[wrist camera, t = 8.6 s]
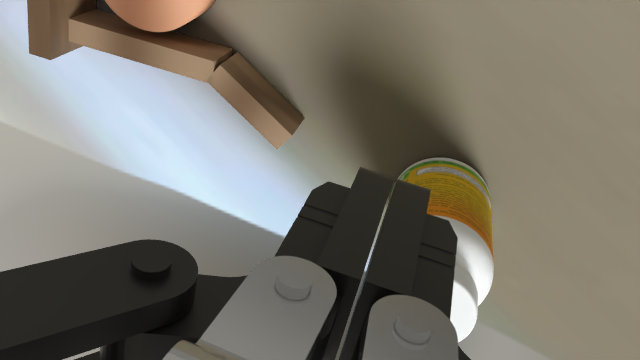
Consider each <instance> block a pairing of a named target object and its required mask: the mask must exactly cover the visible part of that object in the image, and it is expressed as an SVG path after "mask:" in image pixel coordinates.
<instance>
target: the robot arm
mask: <svg viewBox="0 0 640 360" xmlns="http://www.w3.org/2000/svg"><path fill="white" fill-rule="evenodd" d="M393 179H394V178H393V177H390V176H387V175H383V174H380V173H377V172H374V171H371V170H368V169H365V168H362V167H360V169H359V171H358V173H357V175H356V178H355V180H354V182H353V184H352V186H351V189H350V188H347V187H344V186H341V185H338V184H335V183H332V182H327V183H325V184H323V185H321V186H319V187H317V188H315V189H313V190H312V191H311V193H310V195H309V197H308V199H307V200H306V202H305V204H304V207H302V209H301V211H300V213H299V214H298V217H297V218H296V220H295V221H294V223H293V225H292V227H291V228H290V230H289V232H288V234H287V235H286V237H285V239H284V241H283V242H282V244H281V246H280V248H279V250H278V252H277V253H276V255H275V257H271V258H268V259H265V260H263V261H261V262H260V263H258V264H257V265H256V266H255V267H254V268H253V269H252V271H251V272H250V273H249V275H247V276H242V277H218V276H209V275H200V274H198V267H197V263H196V261H195V259H194V258H193V256H192V255H191V254H190V253H189V252H188V251H186V250H185V249H183V248H182V247H180V246H178V245H175V244H173V243H169V242H165V241H161V240H138V241H133V242H128V243H124V244H119V245H115V246H111V247H106V248H102V249H98V250H94V251H89V252H85V253H81V254H77V255H72V256H68V257H63V258H59V259H55V260H50V261H46V262H42V263H37V264H33V265H29V266H25V267H20V268H16V269H11V270H7V271H3V272H0V360H62V359H65V358H68V357H71V356H74V355H77V354H80V353H83V352H86V351H90V350H92V349H96V348H99V347H100V351H98V352H96V353H92V354H90V355H87V356H84V357H81V358H78V359H75V360H335V357H336V354H337V351H338V348H339V345H340V342H341V339H342V336H343V333H344V329H345V327H346V323H347V320H348V317H349V314H350V311H351V308H352V305H353V301H354V299H355V296H356V293H357V290H358V287H359V284H360V281H361V278H362V275H363V272H364V268H365V265H366V262H367V259H368V256H369V253H370V250H371V247H372V244H373V241H374V238H375V234H376V231H377V228H378V225H379V222H380V219H381V216H382V213H383V210H384V207H385V204H386V200H387V197H388V194H389V191H390V188H391V185H392V182H393ZM430 192H431V189H427V188H424V187H421V186H418V185H415V184H412V183H409V182H406V181H403V180H399V179H397V180H396V183H395V186H394V189H393V192H392V195H391V198H390V201H389V204H388V207H387V210H386V213H385V216H384V219H383V222H382V225H381V228H380V231H379V234H378V237H377V240H376V243H375V246H374V249H373V252H372V255H371V259H370V262H369V265H368V268H367V271H366V274H365V277H364V281H363V284H362V287H361V290H360V293H359V296H358V300H357V303H356V306H355V309H354V312H353V316H352V318H351V322H350V325H349V328H348V331H347V334H346V338H345V341H344V344H343V347H342V350H341V353H340V356H339V360H471V359H470V358H469V357H468V356H467V355H466V354H465V353H464V352H463V351H462V350H461V349H460V347H459V346H458V337H457V332H456V330H455V327H454V326H453V324H452V322H451V321H450V315H451V305H452V294H453V283H454V273H455V271H454V269H455V262H456V257H455V256H456V252H457V241H458V237H457V235H456V233H455V232H454V230H453V228H452V226H451V224H450V222H449V220H445V219H442V218H439V217H436V216H433V215H430V214H427V208H428V203H429V198H430Z"/></svg>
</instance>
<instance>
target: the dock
mask: <svg viewBox="0 0 640 360" xmlns="http://www.w3.org/2000/svg"><path fill="white" fill-rule="evenodd" d="M27 5H28V32H29V53H30V54H33V55H36V56H39V57H43V58H46V59H49V60H52V59H54V58H56V57H59V56H61V55H63V54H66V53H68V52H70V51H73V50H75V49H77V48H80V47H82V46H86V47H90V48H93V49H96V50H100V51H103V52H106V53H110V54H113V55H116V56H120V57H123V58H126V59H130V60H133V61H136V62H140V63H143V64H146V65H150V66H153V67H156V68H160V69H163V70H166V71H170V72H173V73H176V74H180V75H183V76H187V77H190V78H193V79H197V80H200V81H203V82H207V83H209V84H210V85H211V86H212V87H213V88H214V89H215V90H216V91H217V92H218V93H219V94H220V95H221V96H222V97H223V98H224V99H225V100H226V101H227V102H229V103H230V104H231V105H232V106H233V107H234V108H235V109H236V110H237V111H238V112H239V113H240V114H241V115H242V116H243V117H244V118H245V119H246V120H247V121H248V122H249V123H250V124H251V125H252V126H253V127H254V128H255V129H256V130H257V131H258V132H259V133H261V134H262V135H263V136H264V137H265V138H266V139H267V140H268V141H269V142H270V143H271V144H272V145H273V146H274V147H275V148H276V149H278V148H279V147H280V146H281V145H282V144H284V143H285V142H286V141H287V140H288V139H289V138H290V137H291V136H292V135H293V133H294V132H295V131H296V129H297V128H298V126H299V125H300V124H301V122H302V121H303V119H304V117H303V116H302V115H301V114H300V113H299V112H298V111H297V110H296V109H295V108H294V107H293V106H292V105H291V104H290V103H289V102H288V101H287V100H286V99H285V98H284V97H283V96H282V95H281V94H280V93H279V92H278V91H277V90H276V89H275V88H274V87H273V86H272V85H271V84H270V83H269V82H268V81H267V80H266V79H265V78H264V77H263V76H262V75H261V74H260V73H259V72H258V71H257V70H256V69H255V68H254V67H252V66H251V65H250V64H249V63H248V62H247V61H246V60H245V59H244V58H243V57H242V56H241V55H240V54H239V53H238V52H237V53H236V54H234V55H233V56H232V50H233V49H232V48H228V47H225V46H221V45H218V44H214V43H211V42H208V41H204V40H201V39H197V38H194V37H190V36H187V35H184V34H180V33H177V32H173V31H166V32H151V31H146V30H143V29H139V28H137V27H135V26H133V25H131V24H129V23H128V22H126V21H124V20H123V19H122V18H120V17H119V16H118V15H115V14H111V13H108V12H105V11H101V10H98V9H96V0H27Z"/></svg>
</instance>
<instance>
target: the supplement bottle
mask: <svg viewBox="0 0 640 360" xmlns="http://www.w3.org/2000/svg"><path fill="white" fill-rule="evenodd" d="M398 179H399V180H403V181H406V182H409V183H412V184H415V185H418V186H421V187H424V188H427V189H431V192H430V198H429V203H428V208H427V214H430V215H433V216H436V217H439V218H442V219H445V220H449V222H450V224H451V226H452V228H453V230H454V232H455V233H456V235H457V237H458V241H457V252H456V256H455V257H456V262H455V269H454V271H455V273H454V283H453V294H452V305H451V315H450V321H451V322H452V324H453V326H454V327H455V330H456V332H457V337H458V342H460V341H461V340H463V339H464V338H465V337H466V336H467V335H469V333H470V332H471V331H472V329H473V328H474V325H475V323H476V320H477V311H478V306H479V305H480V304H481V303H482V301H483V300H484V299H485V297H486V296H487V294H488V292H489V290H490V287H491V284H492V280H493V239H492V207H491V197H490V193H489V190H488V187H487V185H486V183H485V181H484V180H483V178H482V177H481V176H480V175H479V174H478V173H477V172H476V171H475V170H474V169H473V168H471V167H470V166H468V165H467V164H465V163H463V162H460V161H457V160H454V159H450V158H429V159H425V160H421V161H419V162H416V163H414V164H413V165H411V166H409V167H408V168H407V169H406V170H404V171H403V172H402V174H401V175H400V176H399V177H398ZM395 183H396V182H395ZM394 186H395V184H394ZM393 189H394V187H393ZM392 192H393V190H392ZM391 195H392V193H391ZM390 198H391V196H390ZM389 201H390V200H389Z"/></svg>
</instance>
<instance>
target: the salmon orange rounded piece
mask: <svg viewBox="0 0 640 360" xmlns="http://www.w3.org/2000/svg"><path fill="white" fill-rule="evenodd" d="M215 1H216V0H105V2H106V3H107V4H108V6H109V7H110V8H111V9H112V10H113V11H114V12H115V13H116V14H117V15H118V16H119V17H120V18H122V19H123V20H124V21H126V22H128V23H129V24H131V25H133V26H135V27H137V28H139V29H143V30H146V31H151V32H166V31H171V30H174V29H177V28H179V27H181V26H183V25H185V24H186V23H188V22H190V21H192V20H193V19H195V18H197V17H199V16H200V15H202V14H204V13H205V12H206V11H207V10H208V9H210V8H211V6H212V5H213V4H214V3H215Z"/></svg>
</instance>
